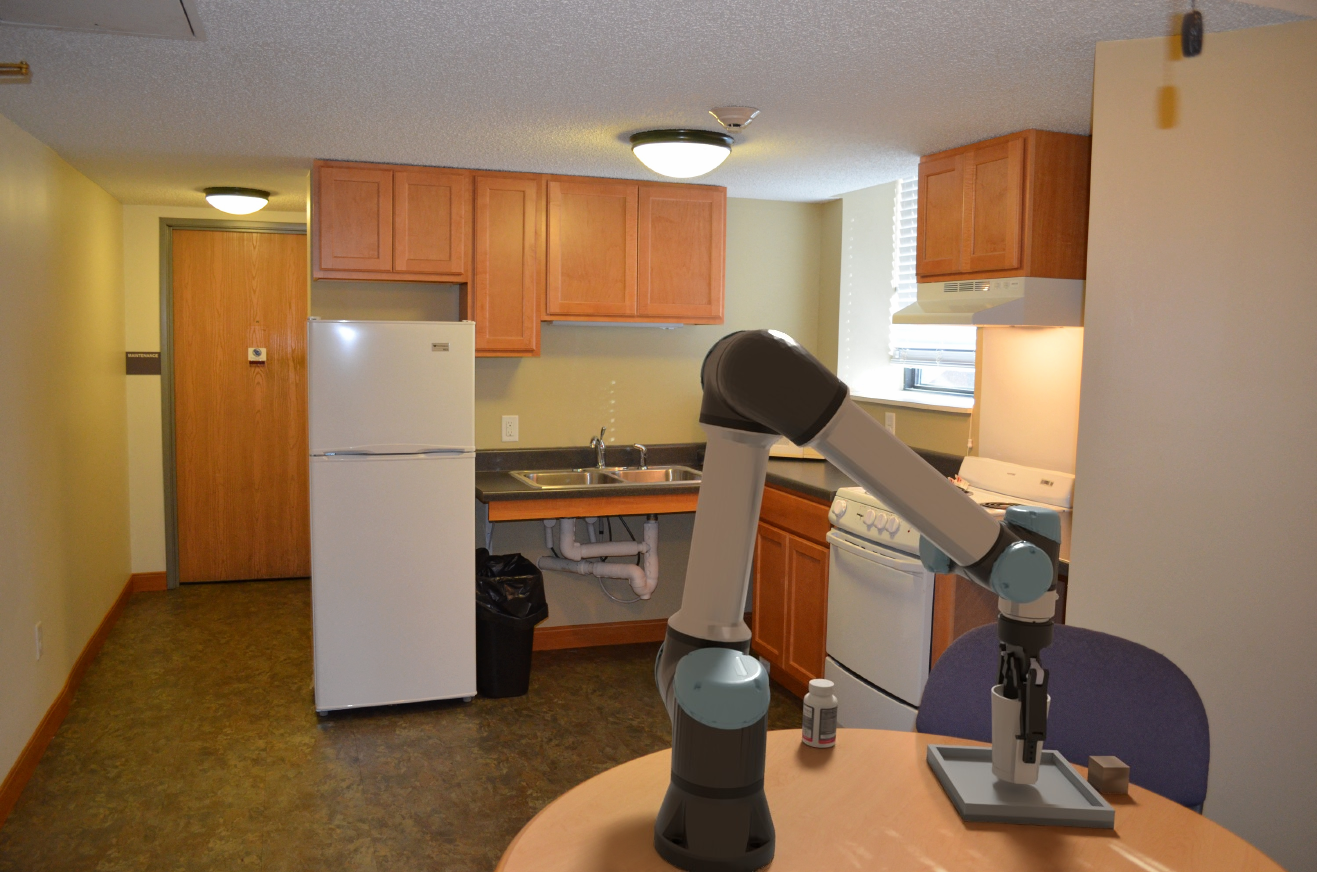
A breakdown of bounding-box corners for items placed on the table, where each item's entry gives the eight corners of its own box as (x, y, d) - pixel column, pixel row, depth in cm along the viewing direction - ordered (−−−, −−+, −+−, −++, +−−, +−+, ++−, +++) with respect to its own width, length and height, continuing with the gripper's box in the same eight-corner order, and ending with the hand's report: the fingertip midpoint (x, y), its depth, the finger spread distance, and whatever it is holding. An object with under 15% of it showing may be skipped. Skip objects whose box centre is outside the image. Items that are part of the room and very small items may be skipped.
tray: (964, 820, 130) (965, 802, 130) (926, 759, 150) (927, 743, 150) (1113, 828, 130) (1115, 810, 130) (1056, 765, 150) (1057, 750, 150)
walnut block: (1101, 793, 141) (1103, 767, 141) (1087, 781, 145) (1089, 755, 145) (1127, 793, 141) (1129, 767, 141) (1112, 781, 145) (1114, 755, 145)
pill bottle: (836, 738, 157) (840, 679, 157) (834, 750, 152) (837, 690, 152) (803, 733, 159) (806, 675, 158) (799, 745, 154) (802, 685, 153)
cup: (1049, 789, 135) (1055, 706, 134) (989, 782, 137) (995, 699, 136) (1038, 766, 143) (1044, 687, 142) (982, 759, 145) (987, 681, 144)
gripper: (1082, 636, 128) (1068, 803, 130) (1027, 598, 148) (1016, 743, 150) (1024, 634, 128) (1012, 801, 130) (977, 596, 148) (967, 741, 150)
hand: (1014, 770), depth 140 cm, fingers closed on cup, 7 cm apart
